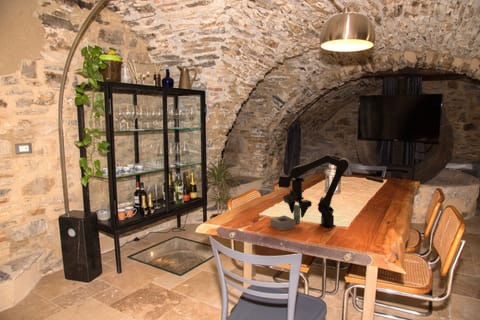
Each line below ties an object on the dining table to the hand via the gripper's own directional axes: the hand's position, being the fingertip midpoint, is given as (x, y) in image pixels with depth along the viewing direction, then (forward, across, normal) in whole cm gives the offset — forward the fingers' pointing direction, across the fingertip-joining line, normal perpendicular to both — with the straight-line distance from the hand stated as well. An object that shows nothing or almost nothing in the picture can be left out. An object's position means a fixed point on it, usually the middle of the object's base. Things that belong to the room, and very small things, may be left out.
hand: (297, 215), depth 184 cm
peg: (+4, 0, 0) cm, 4 cm away
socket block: (+4, +1, -11) cm, 11 cm away
